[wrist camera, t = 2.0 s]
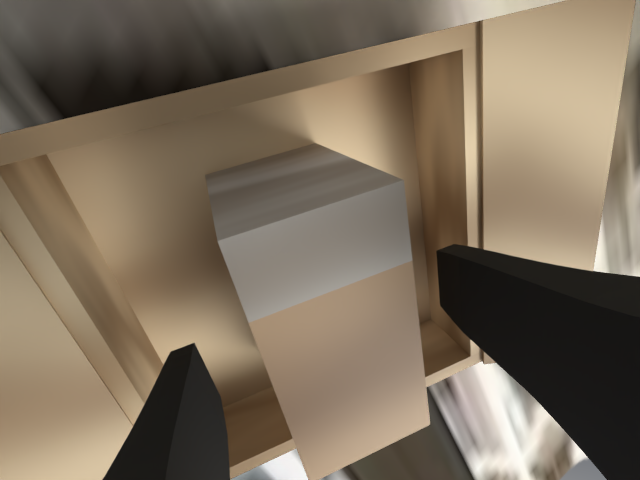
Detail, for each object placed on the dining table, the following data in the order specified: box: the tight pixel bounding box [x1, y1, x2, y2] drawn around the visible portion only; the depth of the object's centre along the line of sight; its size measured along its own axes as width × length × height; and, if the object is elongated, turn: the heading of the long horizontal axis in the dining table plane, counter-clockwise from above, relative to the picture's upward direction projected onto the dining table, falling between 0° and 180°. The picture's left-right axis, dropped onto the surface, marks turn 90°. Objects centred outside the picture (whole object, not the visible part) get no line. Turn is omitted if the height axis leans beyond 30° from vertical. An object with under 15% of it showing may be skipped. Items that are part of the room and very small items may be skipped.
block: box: [205, 143, 430, 480], centre depth 12 cm, size 8×4×6 cm, turn 12°
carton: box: [0, 0, 636, 480], centre depth 12 cm, size 13×21×5 cm, turn 102°
